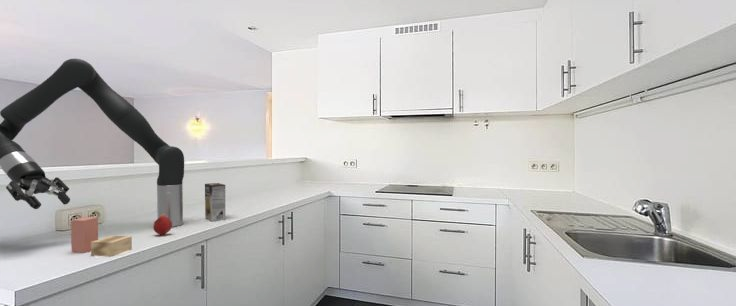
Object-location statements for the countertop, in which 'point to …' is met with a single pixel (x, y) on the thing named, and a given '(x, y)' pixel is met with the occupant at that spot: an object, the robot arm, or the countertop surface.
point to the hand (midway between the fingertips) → (53, 204)
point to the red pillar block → (83, 234)
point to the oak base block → (111, 245)
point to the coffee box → (215, 201)
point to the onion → (162, 225)
